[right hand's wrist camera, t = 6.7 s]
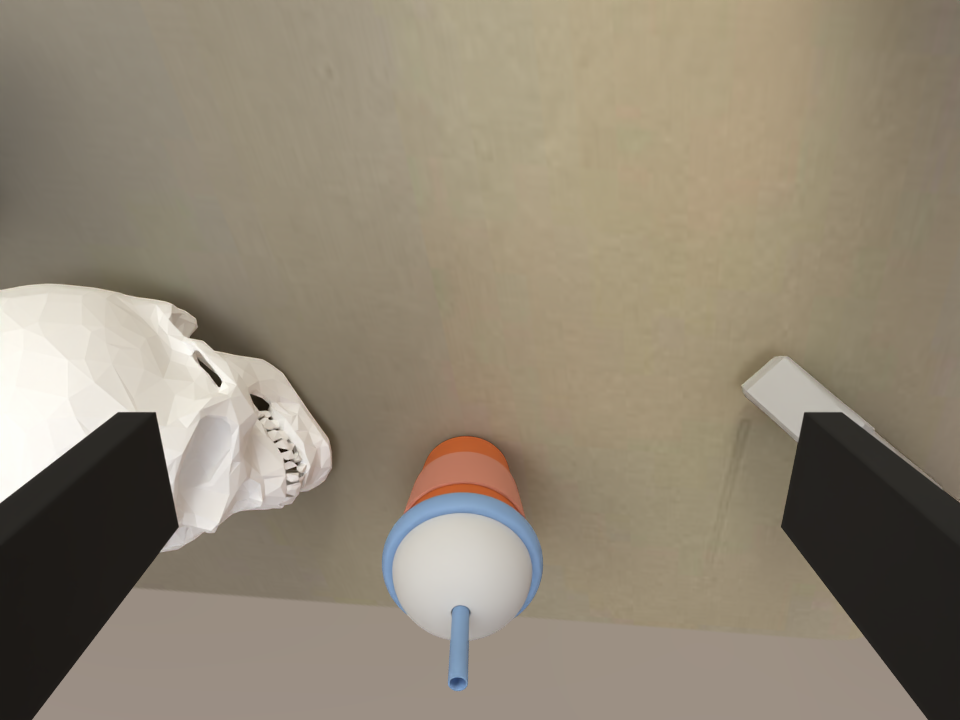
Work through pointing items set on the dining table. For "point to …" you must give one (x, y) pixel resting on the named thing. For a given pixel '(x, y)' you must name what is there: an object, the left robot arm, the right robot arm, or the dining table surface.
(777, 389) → the clamp
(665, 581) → the dining table surface
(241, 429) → the skull
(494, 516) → the cup with straw
